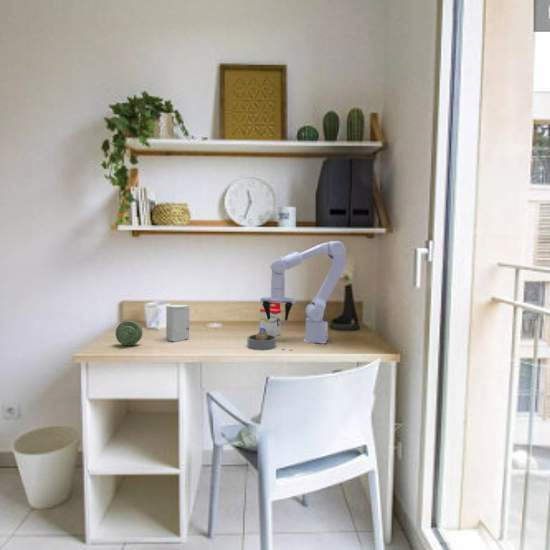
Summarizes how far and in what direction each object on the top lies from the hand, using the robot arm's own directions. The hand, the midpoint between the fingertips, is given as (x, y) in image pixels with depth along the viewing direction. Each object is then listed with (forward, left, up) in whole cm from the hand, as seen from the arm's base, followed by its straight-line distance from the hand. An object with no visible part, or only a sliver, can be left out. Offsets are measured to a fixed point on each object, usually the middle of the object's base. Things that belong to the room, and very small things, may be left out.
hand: (277, 319), depth 176 cm
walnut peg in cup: (+4, +13, -9) cm, 16 cm away
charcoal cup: (+4, +11, -9) cm, 15 cm away
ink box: (+6, -12, -10) cm, 16 cm away
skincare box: (+42, +8, -10) cm, 44 cm away
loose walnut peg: (+4, +9, -9) cm, 13 cm away
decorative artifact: (+56, +24, -10) cm, 62 cm away
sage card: (-7, +14, -9) cm, 18 cm away
